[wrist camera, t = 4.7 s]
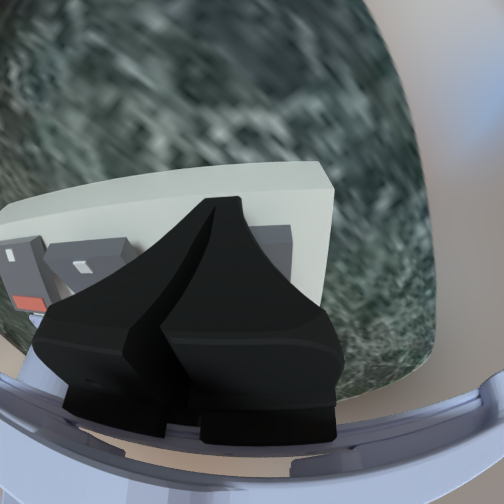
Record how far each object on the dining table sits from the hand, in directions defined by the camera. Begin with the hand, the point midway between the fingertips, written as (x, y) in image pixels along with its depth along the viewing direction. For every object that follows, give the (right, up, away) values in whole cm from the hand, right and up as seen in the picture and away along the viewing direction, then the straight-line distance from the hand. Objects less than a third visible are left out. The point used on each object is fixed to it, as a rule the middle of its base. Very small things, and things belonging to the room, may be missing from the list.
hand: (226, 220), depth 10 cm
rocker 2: (-7, -2, +3) cm, 8 cm away
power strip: (-7, 0, +7) cm, 10 cm away
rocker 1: (-14, -3, +3) cm, 14 cm away
